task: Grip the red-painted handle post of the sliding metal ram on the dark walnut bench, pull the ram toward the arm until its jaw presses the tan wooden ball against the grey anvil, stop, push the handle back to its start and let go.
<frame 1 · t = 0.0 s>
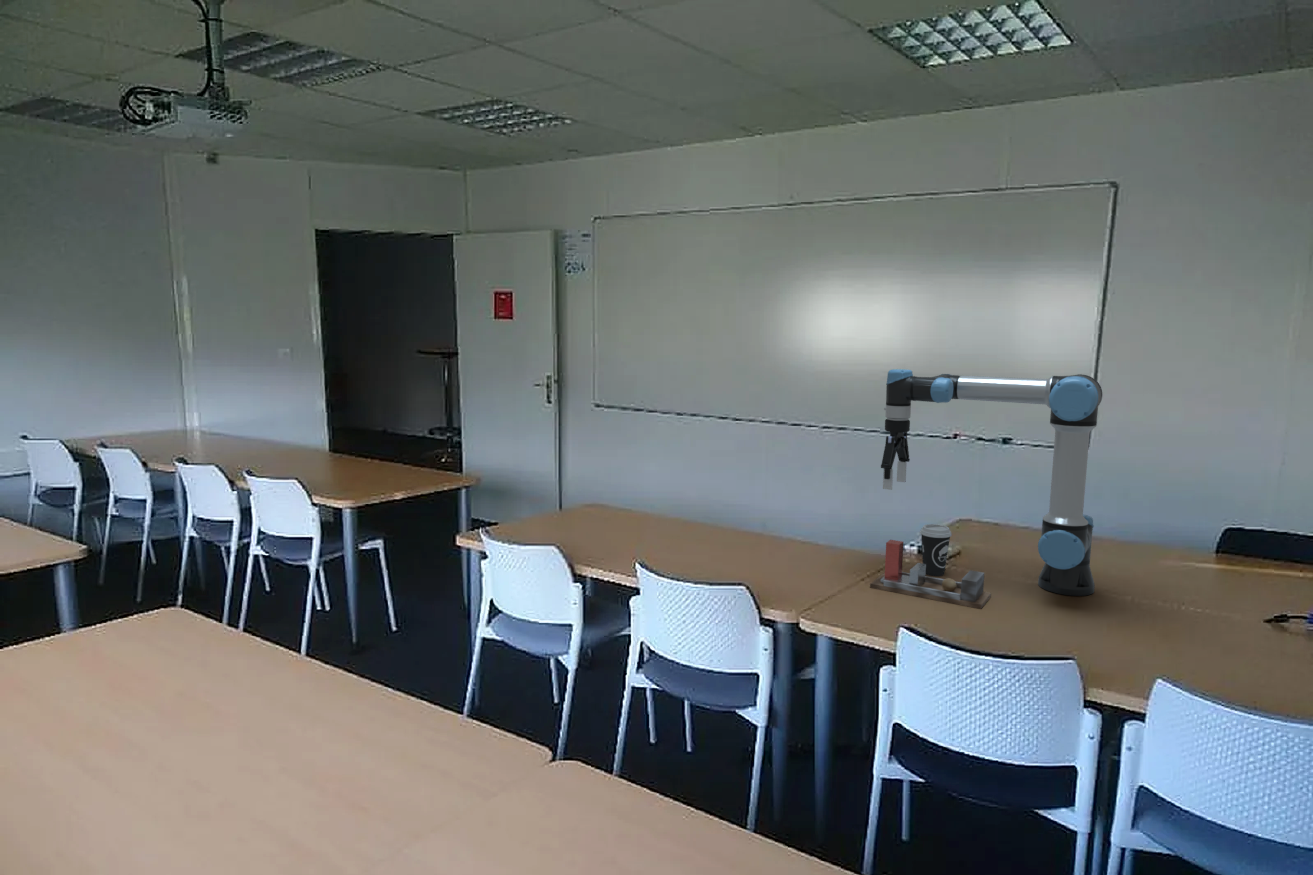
hand: (894, 485, 257), 28 cm above the table, fingers open, 13 cm apart
bench: (929, 592, 241), on the table
nut: (949, 585, 237), point 3 cm above the table, touching bench
coffee cup: (933, 573, 259), on the table
ram: (903, 563, 244), point 8 cm above the table, slide at 0.0 cm
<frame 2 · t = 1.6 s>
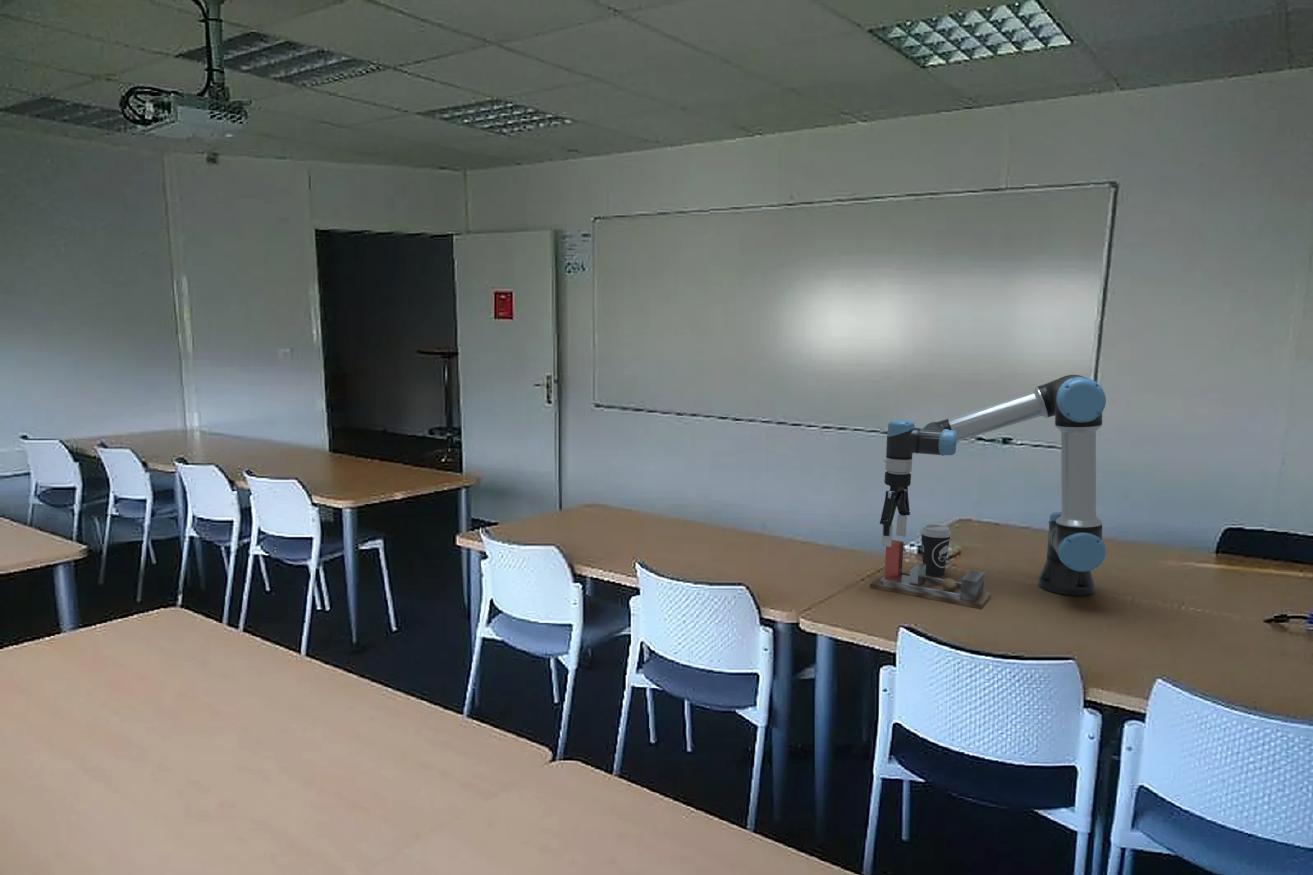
hand: (893, 540, 245), 14 cm above the table, fingers open, 13 cm apart
nothing on the table moved.
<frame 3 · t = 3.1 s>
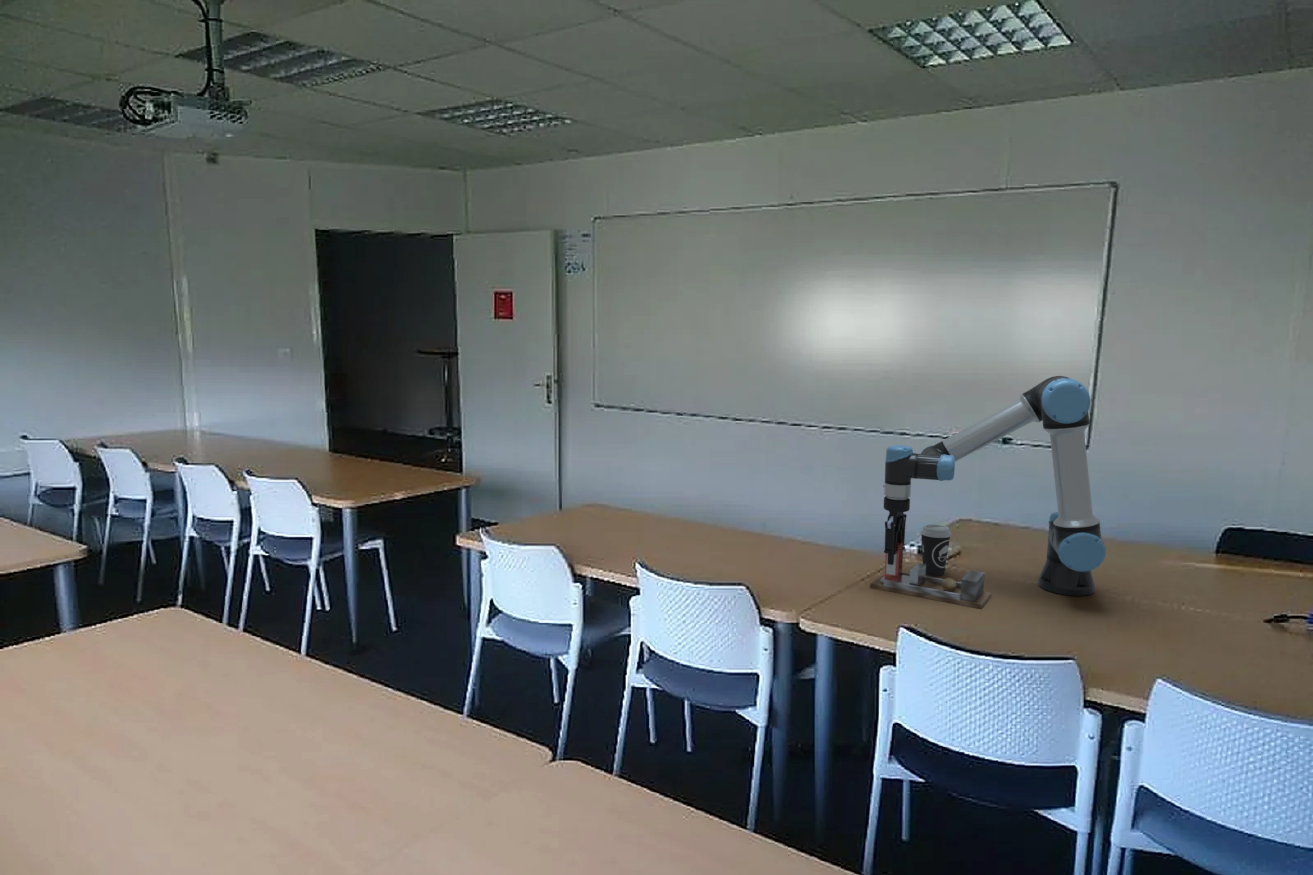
hand: (893, 572, 246), 4 cm above the table, fingers closed on ram, 4 cm apart
ram: (903, 563, 244), point 8 cm above the table, slide at 0.0 cm, touching gripper
everything else where it was.
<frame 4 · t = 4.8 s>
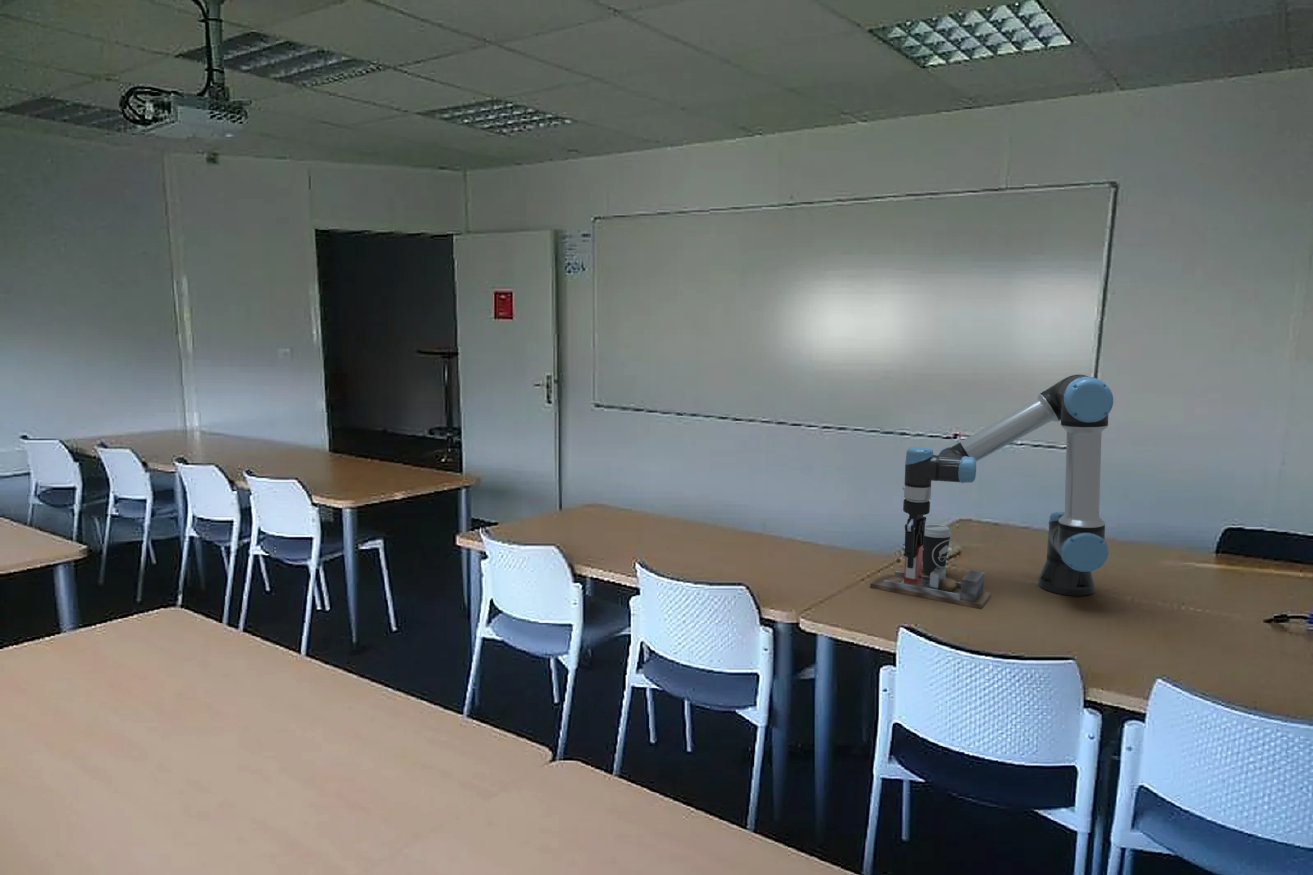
hand: (912, 575, 243), 4 cm above the table, fingers closed on ram, 4 cm apart
ram: (923, 566, 241), point 8 cm above the table, slide at 5.9 cm, touching gripper
everything else where it was.
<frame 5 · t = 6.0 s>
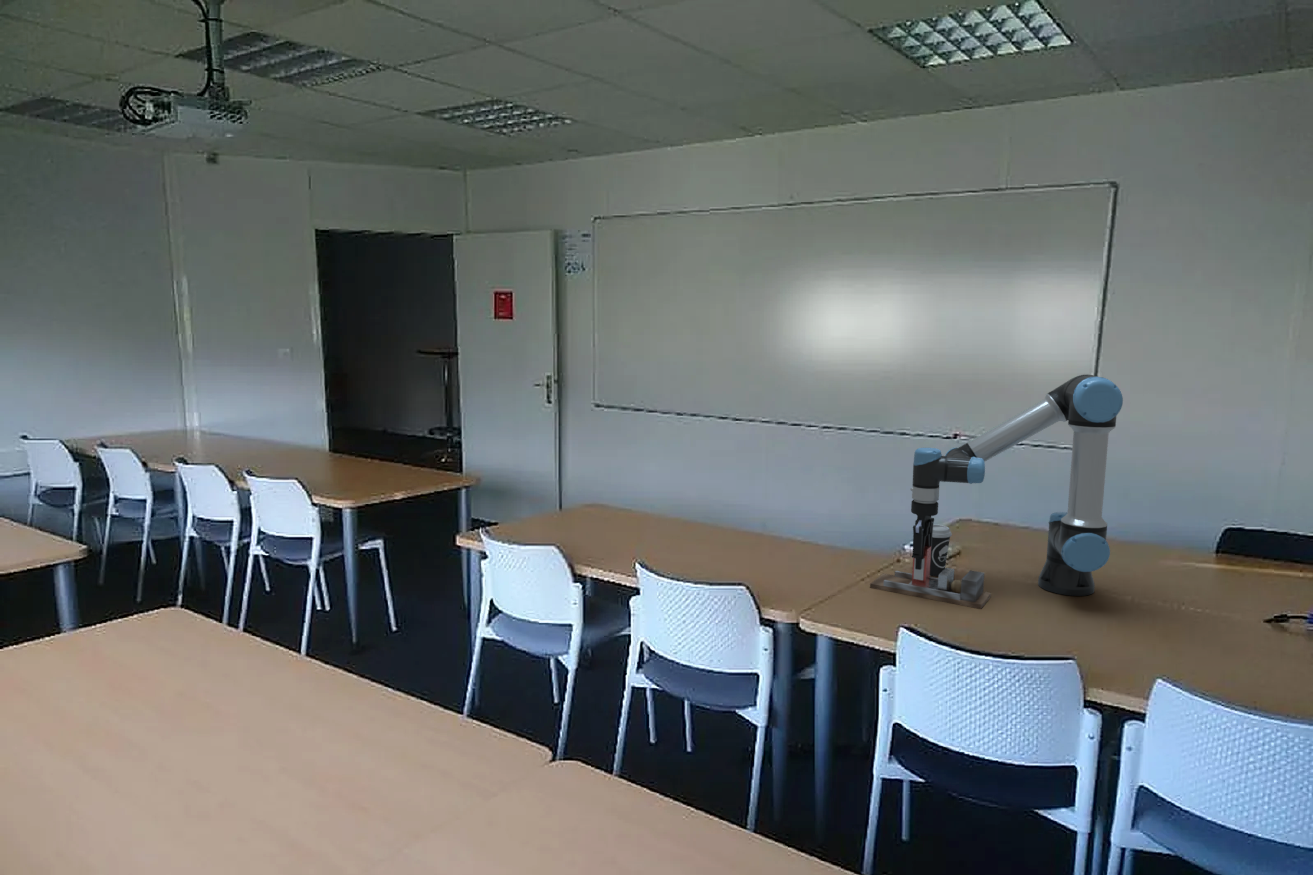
hand: (920, 576, 242), 4 cm above the table, fingers closed on ram, 4 cm apart
nut: (957, 586, 236), point 3 cm above the table, tilted 71°, touching bench
ram: (931, 567, 240), point 8 cm above the table, slide at 8.3 cm, touching gripper
everything else where it was.
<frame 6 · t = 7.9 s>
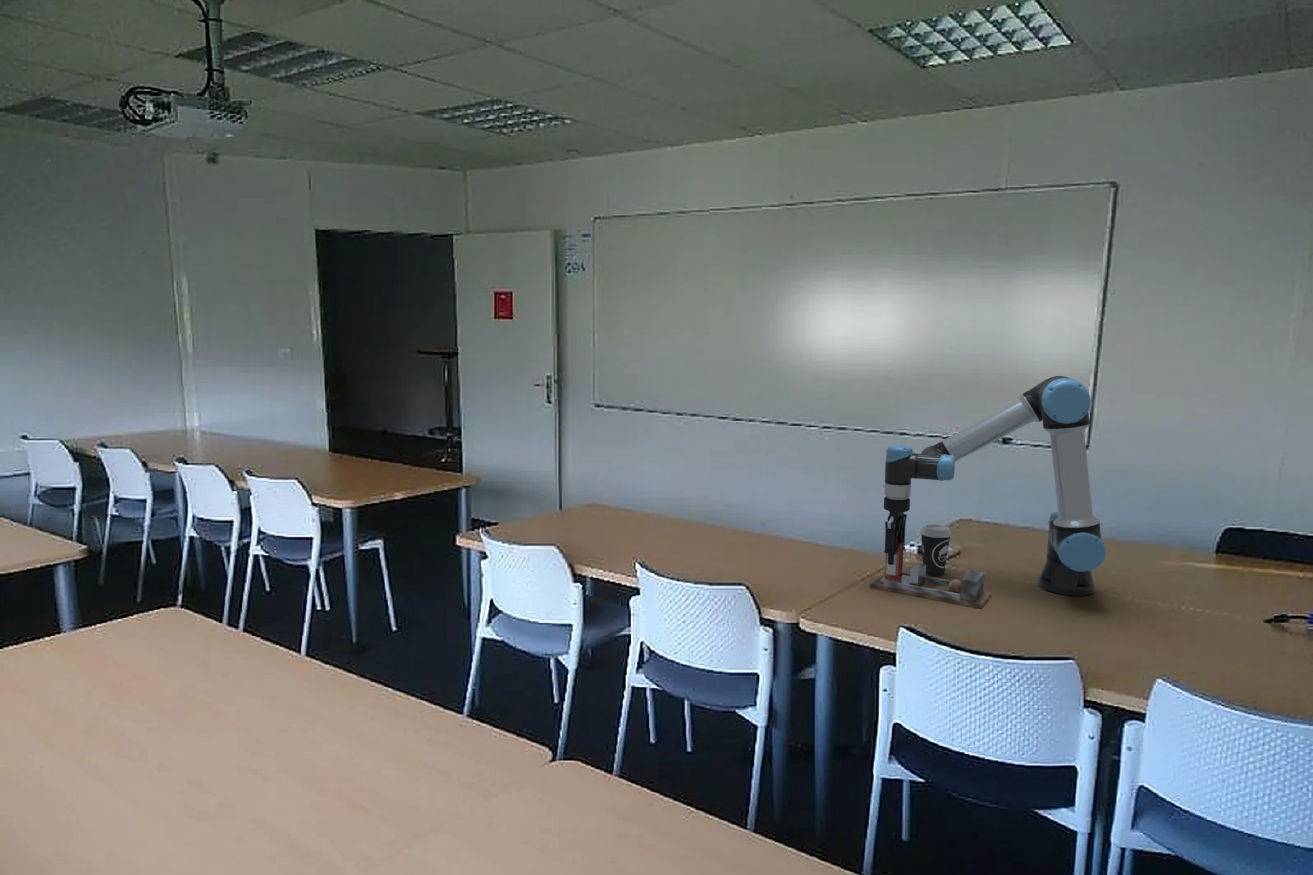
hand: (893, 572, 246), 4 cm above the table, fingers closed on ram, 4 cm apart
nut: (955, 586, 236), point 3 cm above the table, tilted 55°, touching bench
ram: (904, 563, 244), point 8 cm above the table, slide at 0.1 cm, touching gripper
everything else where it was.
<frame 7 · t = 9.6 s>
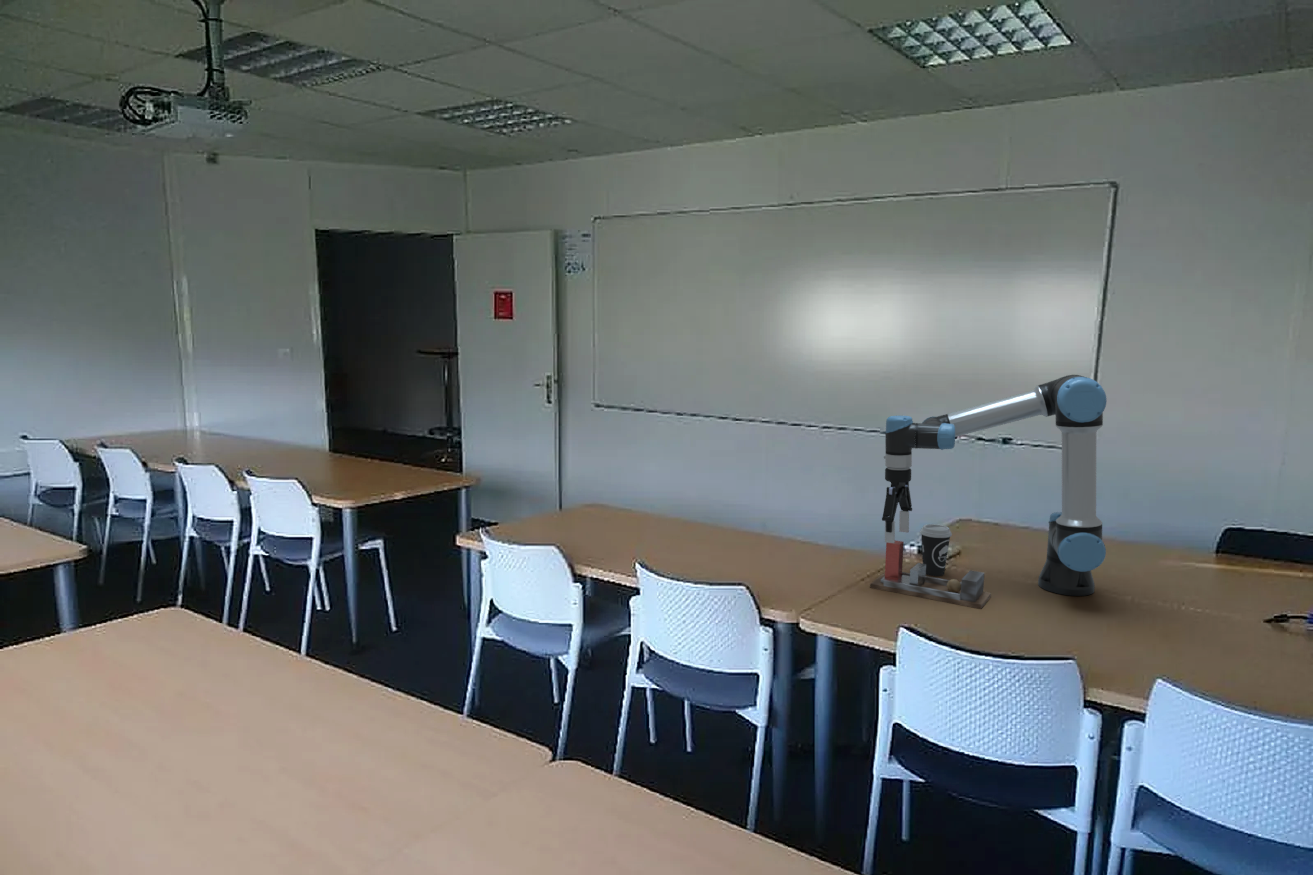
hand: (897, 537, 244), 15 cm above the table, fingers open, 13 cm apart
nut: (954, 586, 237), point 3 cm above the table, tilted 40°, touching bench
ram: (903, 563, 244), point 8 cm above the table, slide at 0.0 cm
everything else where it was.
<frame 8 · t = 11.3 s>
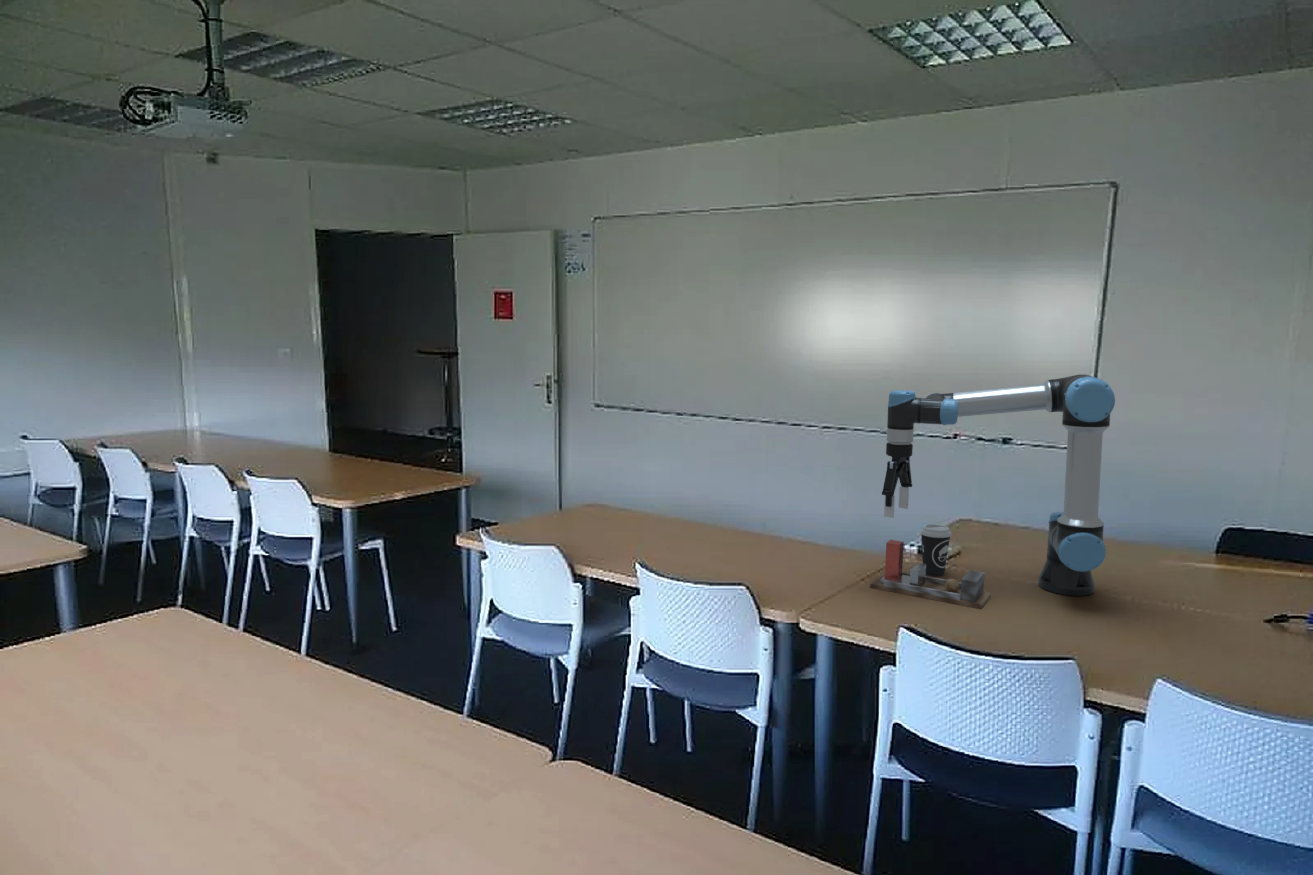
hand: (896, 512, 244), 23 cm above the table, fingers open, 13 cm apart
nut: (952, 585, 237), point 3 cm above the table, tilted 25°, touching bench
everything else where it was.
at the end: ram slide at 0.0 cm; nut 2.1 cm from the target spot on the bench, point 3.2 cm above the bench's base; the gripper is holding nothing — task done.
